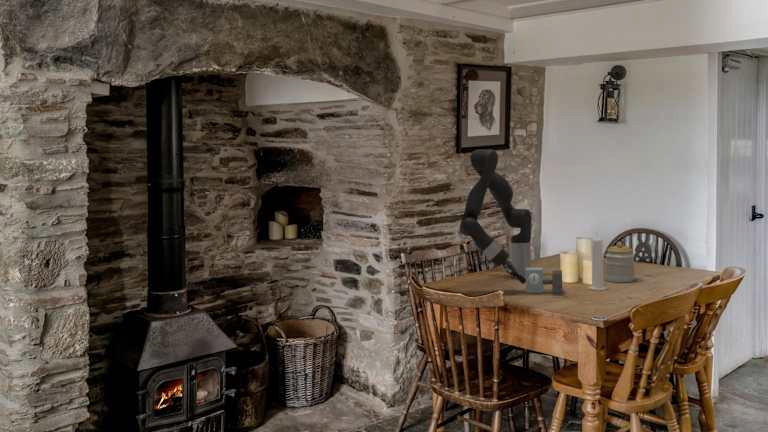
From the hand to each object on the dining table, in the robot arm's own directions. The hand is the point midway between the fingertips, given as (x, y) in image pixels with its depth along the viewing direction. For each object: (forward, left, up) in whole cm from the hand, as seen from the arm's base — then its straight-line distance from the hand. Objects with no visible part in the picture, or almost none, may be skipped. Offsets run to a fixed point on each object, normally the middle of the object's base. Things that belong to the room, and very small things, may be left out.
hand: (524, 282), depth 310 cm
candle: (-13, +31, -6) cm, 34 cm away
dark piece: (0, +3, -5) cm, 6 cm away
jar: (-33, +42, -6) cm, 53 cm away
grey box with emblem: (0, +6, -4) cm, 7 cm away
